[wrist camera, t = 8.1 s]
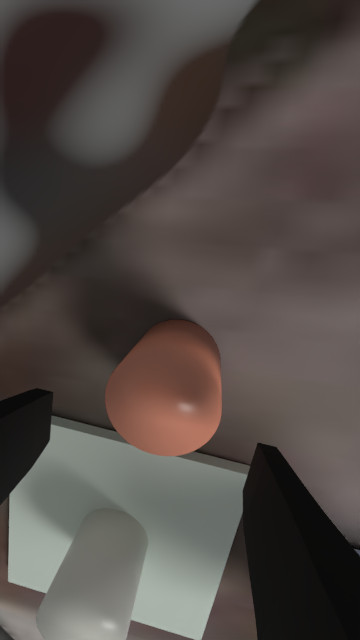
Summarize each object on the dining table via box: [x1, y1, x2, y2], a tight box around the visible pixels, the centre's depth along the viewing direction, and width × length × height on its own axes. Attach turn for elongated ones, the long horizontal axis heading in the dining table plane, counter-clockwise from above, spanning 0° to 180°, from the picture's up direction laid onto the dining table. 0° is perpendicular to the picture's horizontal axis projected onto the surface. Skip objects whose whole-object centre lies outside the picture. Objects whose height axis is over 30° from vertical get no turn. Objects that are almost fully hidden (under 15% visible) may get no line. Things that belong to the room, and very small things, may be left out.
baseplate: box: [8, 416, 250, 640], centre depth 20 cm, size 16×16×1 cm
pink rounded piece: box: [105, 320, 222, 456], centre depth 14 cm, size 5×5×5 cm
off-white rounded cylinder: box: [36, 509, 148, 640], centre depth 17 cm, size 5×5×5 cm
